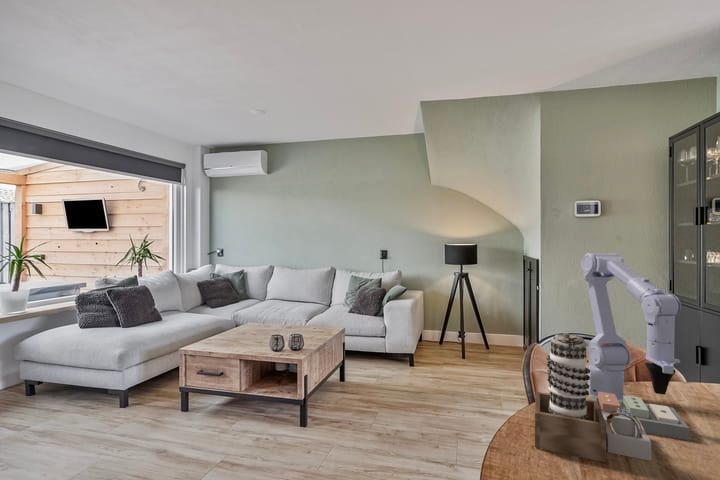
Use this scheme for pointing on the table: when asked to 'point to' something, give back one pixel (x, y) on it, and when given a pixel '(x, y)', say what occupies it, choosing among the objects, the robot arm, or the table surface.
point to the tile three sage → (636, 406)
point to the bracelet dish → (627, 439)
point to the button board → (659, 424)
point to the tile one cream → (663, 413)
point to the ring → (627, 414)
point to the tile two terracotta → (608, 402)
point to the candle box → (570, 431)
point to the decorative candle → (568, 376)
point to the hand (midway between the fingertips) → (659, 393)
